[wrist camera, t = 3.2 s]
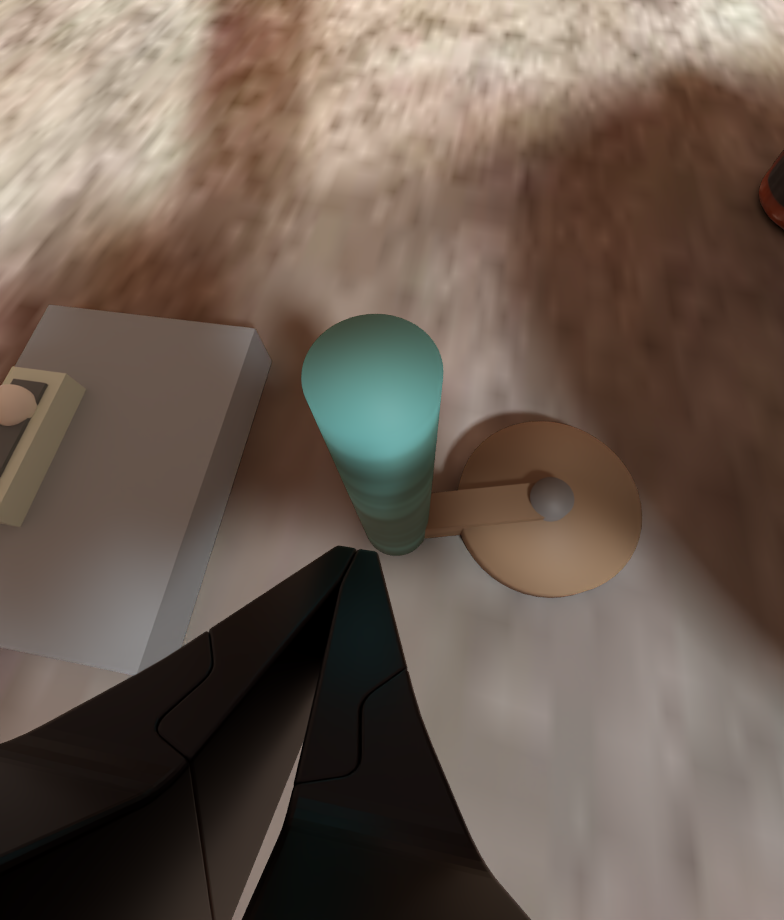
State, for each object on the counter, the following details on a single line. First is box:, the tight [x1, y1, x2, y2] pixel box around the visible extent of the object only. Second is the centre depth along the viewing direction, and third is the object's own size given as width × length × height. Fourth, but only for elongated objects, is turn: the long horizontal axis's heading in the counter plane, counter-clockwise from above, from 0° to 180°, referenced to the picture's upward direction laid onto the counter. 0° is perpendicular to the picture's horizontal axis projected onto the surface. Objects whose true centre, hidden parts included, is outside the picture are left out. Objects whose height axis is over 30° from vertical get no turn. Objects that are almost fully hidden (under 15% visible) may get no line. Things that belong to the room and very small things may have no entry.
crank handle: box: [301, 314, 642, 598], centre depth 14 cm, size 7×11×12 cm, turn 80°
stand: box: [0, 305, 272, 675], centre depth 18 cm, size 14×10×5 cm
